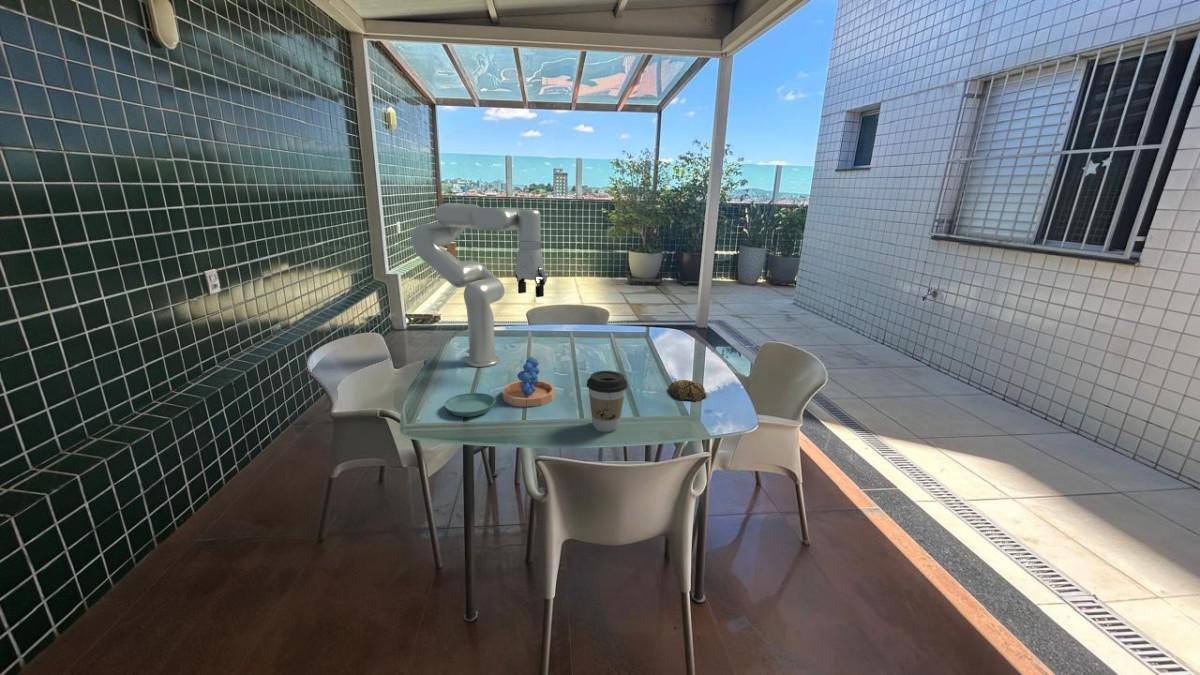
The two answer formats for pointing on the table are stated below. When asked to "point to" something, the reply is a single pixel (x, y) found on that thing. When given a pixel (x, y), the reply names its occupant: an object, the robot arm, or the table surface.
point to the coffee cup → (606, 399)
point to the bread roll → (687, 390)
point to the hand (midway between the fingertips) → (530, 294)
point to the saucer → (470, 404)
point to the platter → (538, 397)
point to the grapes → (529, 376)
